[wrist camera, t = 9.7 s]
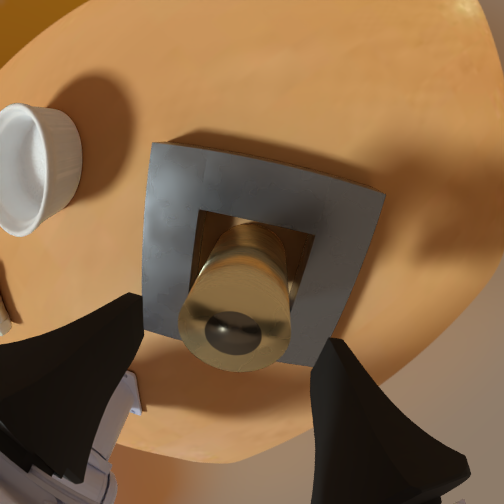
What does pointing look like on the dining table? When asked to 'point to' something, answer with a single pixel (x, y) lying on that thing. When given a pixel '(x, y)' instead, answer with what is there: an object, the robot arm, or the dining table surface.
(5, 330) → the pipe fitting
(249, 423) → the dining table surface
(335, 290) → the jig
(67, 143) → the ramekin
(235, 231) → the bushing
